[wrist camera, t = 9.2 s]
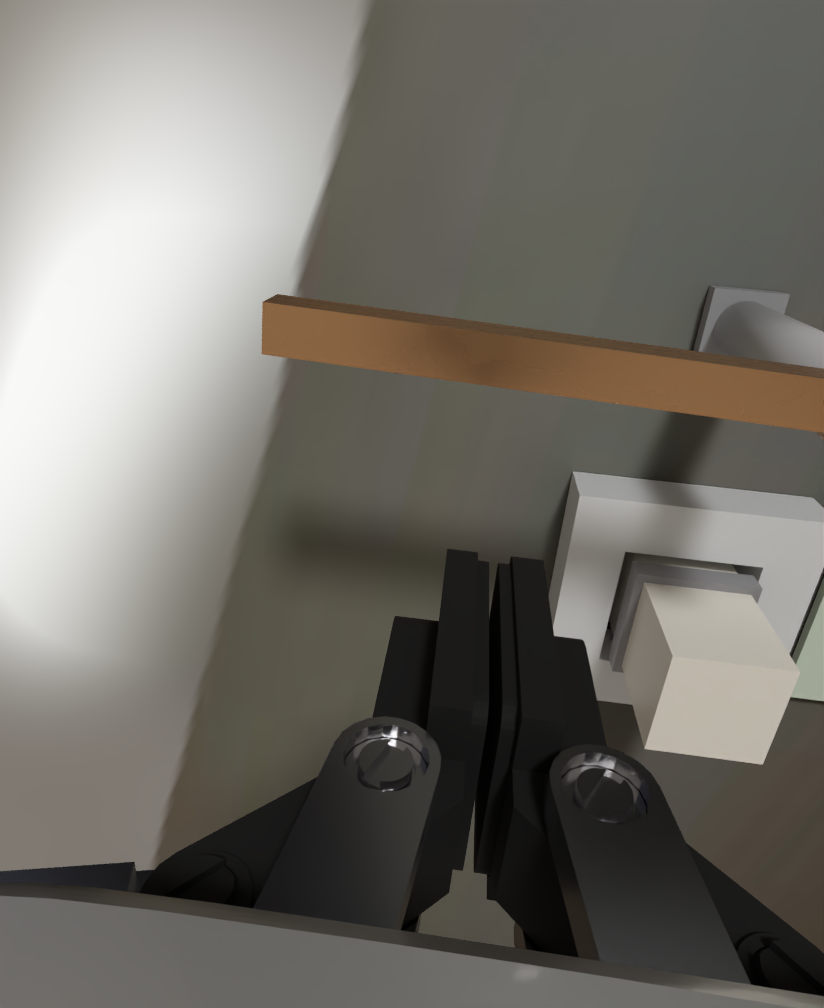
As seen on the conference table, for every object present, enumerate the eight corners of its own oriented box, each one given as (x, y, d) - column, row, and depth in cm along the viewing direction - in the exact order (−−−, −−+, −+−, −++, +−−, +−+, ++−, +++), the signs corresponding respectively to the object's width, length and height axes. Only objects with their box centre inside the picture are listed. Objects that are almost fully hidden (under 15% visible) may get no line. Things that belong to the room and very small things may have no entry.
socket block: (884, 301, 30) (1106, 368, 19) (744, 684, 39) (840, 873, 29) (610, 276, 31) (676, 326, 20) (536, 658, 40) (553, 833, 29)
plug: (732, 543, 36) (814, 665, 27) (703, 633, 38) (769, 772, 29) (621, 531, 36) (665, 646, 27) (599, 621, 39) (633, 754, 30)
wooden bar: (947, 354, 20) (993, 372, 18) (899, 457, 21) (938, 483, 19) (277, 265, 20) (257, 273, 19) (275, 369, 22) (256, 386, 20)
